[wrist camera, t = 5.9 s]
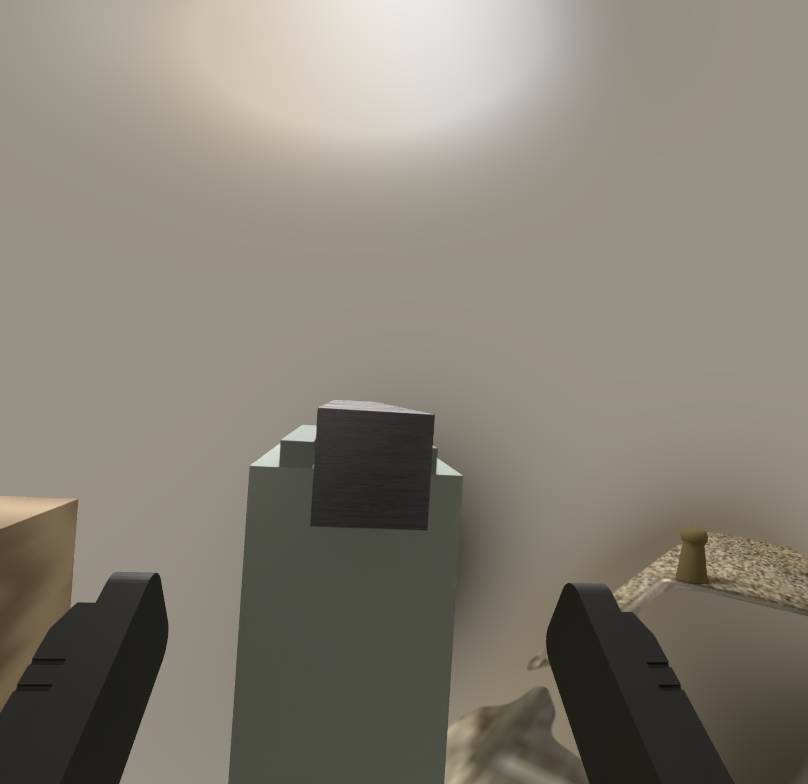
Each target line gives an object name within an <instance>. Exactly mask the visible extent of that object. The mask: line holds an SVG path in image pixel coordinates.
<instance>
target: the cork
mask: <svg viewBox="0 0 808 784" xmlns="http://www.w3.org/2000/svg"><path fill="white" fill-rule="evenodd" d="M681 539H682V541H683V544H682V549H681V554H680V559H679V564H678V569H677V573H676V577H677V578H678V579H680V580H683V581H686V582H689V583H695V584H707V583H708V580H707V569H706V558H705V547H704V545H705V544H706V543H707V541H708V536H707V533H706V532H705V531H704V530H702V529H699V528H695V527H685V528H683V529H682V530H681Z"/></svg>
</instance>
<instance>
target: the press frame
mask: <svg viewBox="0 0 808 784" xmlns="http://www.w3.org/2000/svg"><path fill="white" fill-rule="evenodd" d="M316 429H317V426H313V425H312V426H311V425H302V426H300V427H299V428H298V429H296V430H295V431H293V432H292V433H290V434H289V435H287V436H286V437H285V438H283V439H282V440H281V443H280V444H279V445H277V446H276V447H275V448H273V449H272V450H270V451H269V452H268V453H266V454H265V455H264V456H262V457H261V458H260V459H259V460H257V461H256V462H254V463H253V464H251V465H250V471H249V486H248V501H247V515H246V529H245V531H246V532H245V545H244V559H243V561H244V562H243V575H242V590H241V604H240V619H239V634H238V648H237V664H236V678H235V679H236V680H235V694H234V708H233V723H232V737H231V753H230V768H229V782H228V784H444V777H445V761H446V744H447V728H448V712H449V695H450V679H451V663H452V647H453V631H454V614H455V598H456V580H457V565H458V548H459V533H460V532H459V531H460V517H461V500H462V483H463V475H461V474H460V473H458V472H457V471H455V470H454V469H452V468H451V467H449V466H448V465H446V464H445V463H443V462H442V461H440V460H439V459H438V458H437V452H438V448H436V447H434V446H433V450H432V466H431V482H430V498H429V514H428V530H427V531H426V530H397V529H368V528H339V527H310V520H311V505H312V490H313V474H314V459H315V444H316Z"/></svg>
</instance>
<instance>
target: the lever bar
mask: <svg viewBox="0 0 808 784" xmlns="http://www.w3.org/2000/svg"><path fill="white" fill-rule="evenodd" d="M434 418H435V415H433V414H429V413H424V412H419V411H415V410H410V409H405V408H400V407H396V406H391V405H386V404H382V403H377V402H364V401H349V400H334V401H332V402H330V403H327V404H325V405H323V406H321V407H318V413H317V429H316V444H315V459H314V474H313V490H312V505H311V520H310V527H339V528H368V529H397V530H426V531H427V530H428V514H429V498H430V482H431V466H432V450H433V434H434Z"/></svg>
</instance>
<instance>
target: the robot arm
mask: <svg viewBox="0 0 808 784" xmlns="http://www.w3.org/2000/svg"><path fill="white" fill-rule="evenodd" d="M167 639H168V619H167V613H166V607H165V602H164V596H163V590H162V584H161V579H160V576H159V574H158V573H139V572H138V573H137V572H115V573H113V574H112V575H111V576H110V578H109V579H108V581H107V582H106V584H105V586H104V588H103V590H102V592H101V594H100V596H99V598H98V599H97V601H96V603H76V604H75V605H74V606H73V607H72V608H71V609H70V610H69V611H68V612H67V613H65V614H64V615H63V616H62V617H61V618H60V619H59V620H58V621H57V622H56V623H55V624H54V625H53V626H52V627H51V628H50V629H49V630H48V632H47V634H46V636H45V637H44V639H43V641H42V642H41V644H40V646H39V647H38V649H37V651H36V653H35V654H34V656H33V658H32V663H31V664H30V665H28V666H27V668H26V670H25V671H24V673H23V675H22V677H21V678H20V680H19V682H18V683H17V688H16V690H15V691H13V692H12V694H11V695H10V697H9V699H8V700H7V702H6V704H5V706H4V707H3V709H2V711H1V712H0V784H119V783H120V780H121V777H122V774H123V771H124V768H125V765H126V763H127V760H128V757H129V754H130V751H131V748H132V746H133V743H134V740H135V737H136V734H137V731H138V729H139V726H140V723H141V720H142V717H143V714H144V711H145V709H146V706H147V703H148V700H149V697H150V695H151V692H152V689H153V686H154V683H155V680H156V677H157V675H158V672H159V669H160V666H161V663H162V661H163V657H164V654H165V650H166V645H167ZM546 646H547V654H548V659H549V662H550V665H551V669H552V671H553V674H554V677H555V681H556V684H557V687H558V690H559V693H560V696H561V698H562V702H563V705H564V708H565V711H566V714H567V717H568V720H569V723H570V726H571V729H572V732H573V735H574V738H575V741H576V744H577V747H578V750H579V753H580V756H581V759H582V762H583V766H584V769H585V772H586V775H587V778H588V781H589V784H735V783H734V781H733V780H732V778H731V777H730V775H729V773H728V771H727V769H726V767H725V765H724V764H723V762H722V760H721V758H720V756H719V754H718V752H717V751H716V749H715V747H714V745H713V743H712V742H711V740H710V738H709V736H708V734H707V732H706V730H705V728H704V727H703V725H702V723H701V721H700V719H699V717H698V715H697V714H696V712H695V710H694V708H693V706H692V704H691V703H690V701H689V699H688V697H687V695H686V693H685V691H684V690H681V686H680V685H681V684H680V682H679V680H678V678H677V677H676V675H675V673H674V671H673V669H672V668H670V667H669V665H668V663H669V662H668V660H667V658H666V656H665V654H664V653H663V651H662V649H661V647H660V645H659V643H658V641H657V640H656V638H655V636H654V635H653V633H652V632H651V631H650V630H649V629H648V628H647V627H646V626H645V625H644V624H643V623H642V622H641V621H640V620H639V619H638V618H637V617H636V616H635V615H634V613H633V612H621V610H620V608H619V606H618V604H617V602H616V600H615V598H614V596H613V594H612V592H611V591H610V589H609V588H608V587H607V586H606V585H604V584H592V583H568V584H566V585H565V586H564V588H563V590H562V593H561V595H560V598H559V601H558V603H557V606H556V608H555V611H554V614H553V616H552V619H551V621H550V624H549V626H548V630H547V636H546Z"/></svg>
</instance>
